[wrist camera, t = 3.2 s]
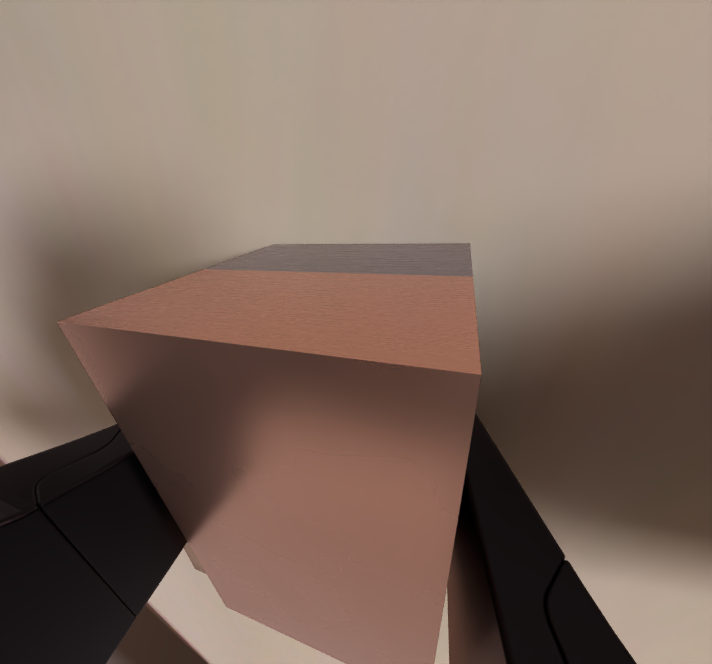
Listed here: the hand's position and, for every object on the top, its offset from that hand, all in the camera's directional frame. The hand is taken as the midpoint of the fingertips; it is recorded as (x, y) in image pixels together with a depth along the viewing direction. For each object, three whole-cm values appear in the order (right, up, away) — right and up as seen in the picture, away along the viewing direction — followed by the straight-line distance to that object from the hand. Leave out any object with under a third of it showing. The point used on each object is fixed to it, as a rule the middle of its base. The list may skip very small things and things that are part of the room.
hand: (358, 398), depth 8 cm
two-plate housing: (0, 0, +1) cm, 1 cm away
